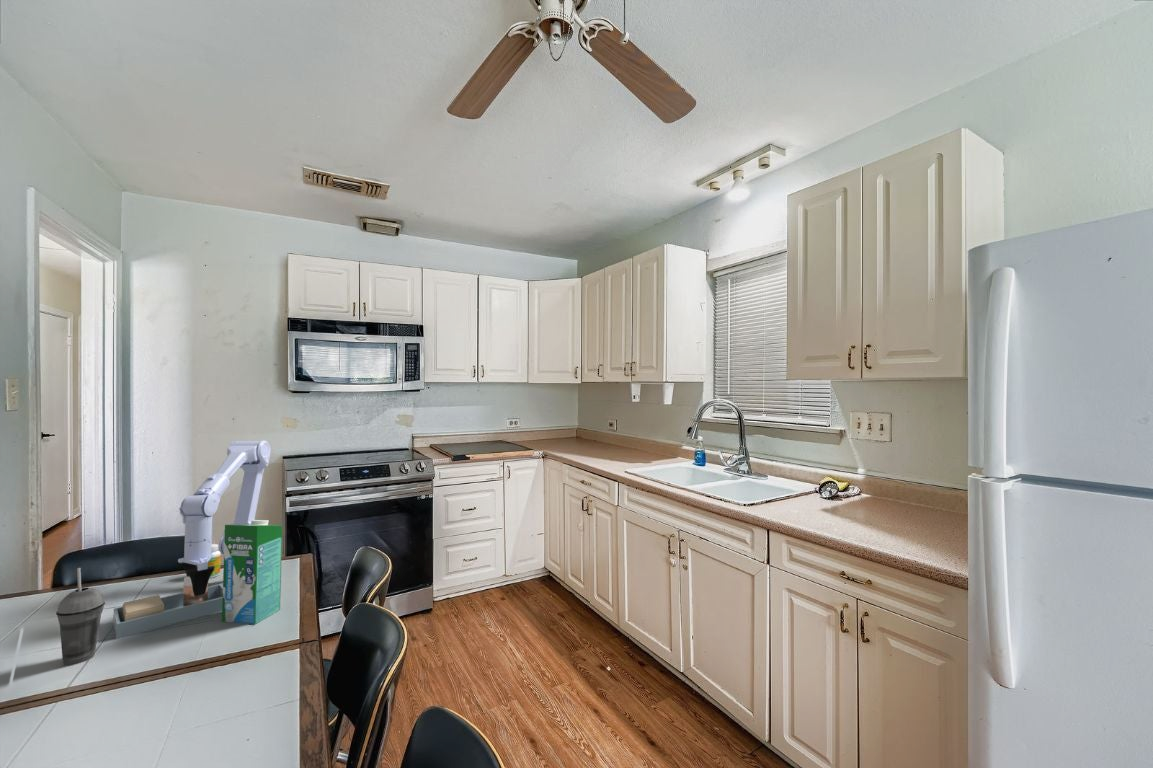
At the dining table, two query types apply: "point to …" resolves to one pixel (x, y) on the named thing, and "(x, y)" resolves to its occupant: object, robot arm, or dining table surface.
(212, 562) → the supplement bottle
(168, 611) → the tote
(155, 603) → the plain tan box
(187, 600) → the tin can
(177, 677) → the dining table surface
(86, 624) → the beverage cup
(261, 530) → the milk carton
